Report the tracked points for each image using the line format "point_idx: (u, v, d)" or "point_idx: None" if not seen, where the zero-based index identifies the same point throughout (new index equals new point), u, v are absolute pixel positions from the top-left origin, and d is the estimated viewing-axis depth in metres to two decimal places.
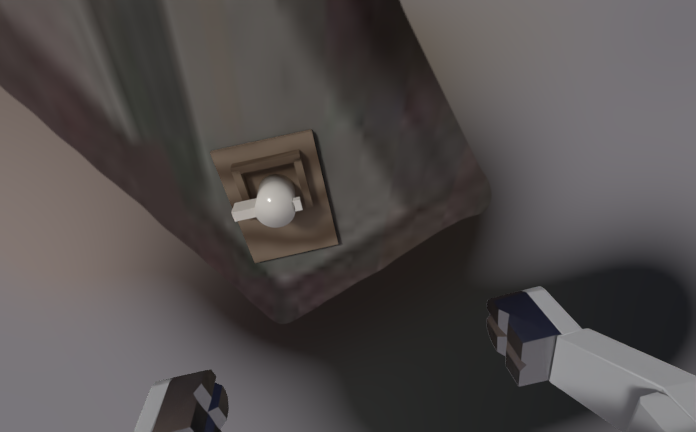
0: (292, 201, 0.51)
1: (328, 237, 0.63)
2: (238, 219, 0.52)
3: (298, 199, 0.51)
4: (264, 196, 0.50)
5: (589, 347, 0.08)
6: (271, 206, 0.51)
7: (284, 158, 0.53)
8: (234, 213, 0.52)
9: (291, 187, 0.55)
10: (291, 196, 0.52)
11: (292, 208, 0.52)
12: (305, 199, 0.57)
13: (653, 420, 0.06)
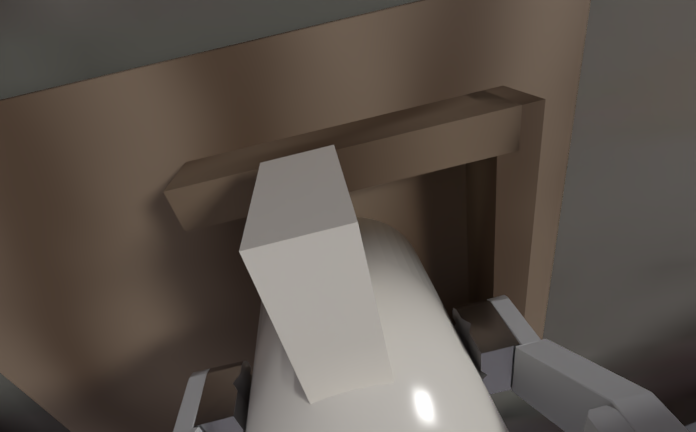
0: None
1: None
2: (272, 282, 0.05)
3: None
4: None
5: (545, 358, 0.08)
6: None
7: None
8: (350, 246, 0.05)
9: None
10: None
11: None
12: None
13: None
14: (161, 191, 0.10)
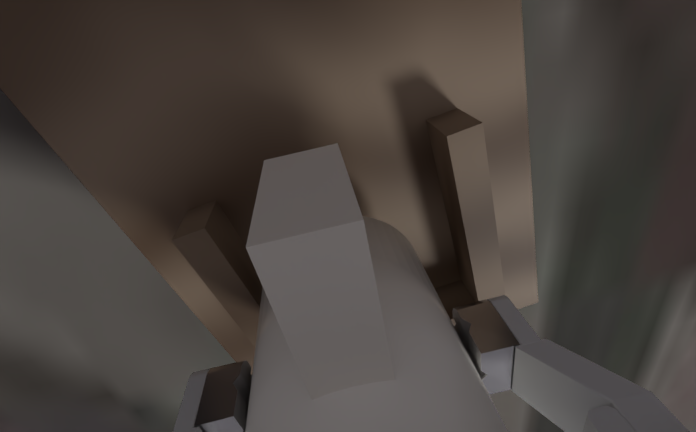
0: None
1: None
2: (278, 278, 0.05)
3: None
4: None
5: (545, 358, 0.08)
6: None
7: None
8: (355, 244, 0.05)
9: None
10: None
11: None
12: (223, 266, 0.12)
13: None
14: (433, 86, 0.12)
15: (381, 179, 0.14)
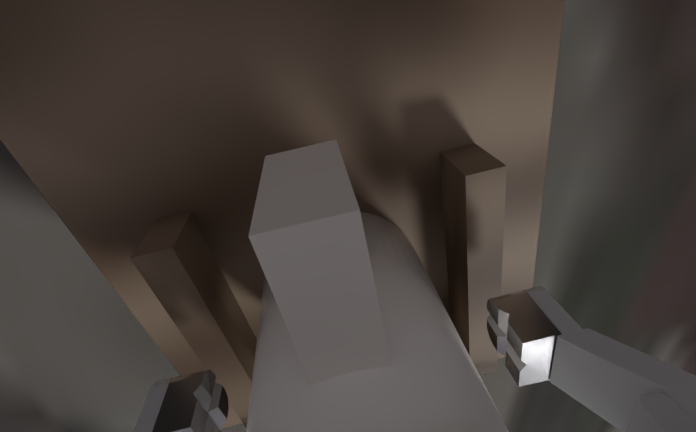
0: None
1: None
2: (279, 265, 0.05)
3: None
4: None
5: (589, 347, 0.08)
6: None
7: None
8: (352, 233, 0.05)
9: None
10: None
11: None
12: (190, 293, 0.10)
13: (653, 420, 0.06)
14: (453, 116, 0.11)
15: (381, 210, 0.12)
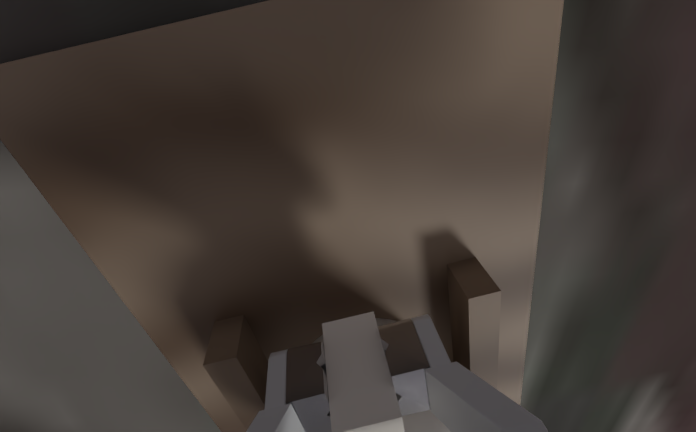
0: None
1: (61, 136, 0.10)
2: None
3: None
4: None
5: (450, 382, 0.08)
6: None
7: None
8: (396, 427, 0.08)
9: None
10: None
11: None
12: (246, 386, 0.13)
13: None
14: (457, 239, 0.13)
15: (398, 306, 0.15)
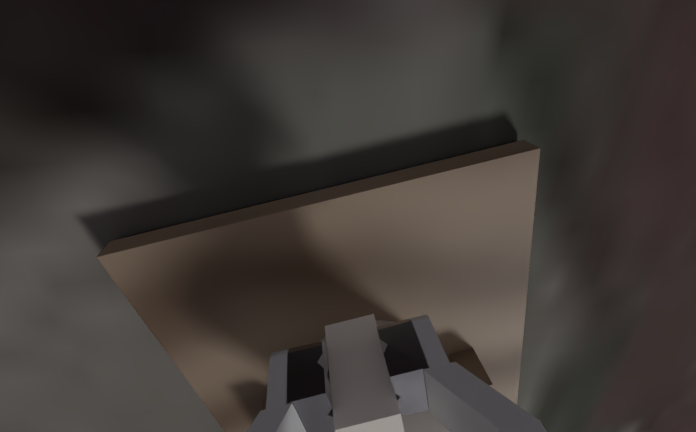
0: None
1: (165, 288, 0.13)
2: None
3: None
4: None
5: (449, 383, 0.08)
6: None
7: None
8: (395, 423, 0.08)
9: None
10: None
11: None
12: None
13: None
14: (458, 337, 0.17)
15: None
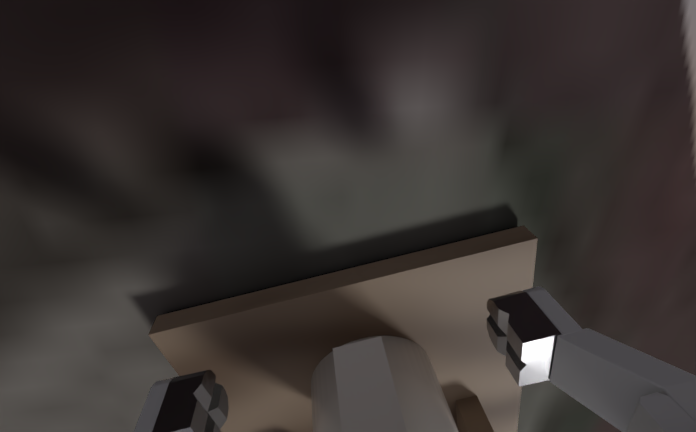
0: None
1: (205, 356, 0.15)
2: None
3: None
4: None
5: (589, 347, 0.08)
6: None
7: None
8: None
9: None
10: None
11: None
12: None
13: (653, 420, 0.06)
14: (463, 387, 0.18)
15: None
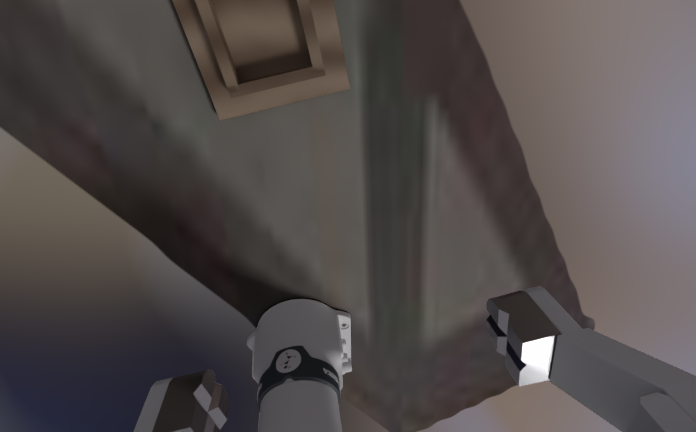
0: None
1: None
2: None
3: None
4: None
5: (589, 347, 0.08)
6: None
7: (251, 90, 0.38)
8: None
9: None
10: None
11: None
12: (210, 15, 0.34)
13: (653, 420, 0.06)
14: None
15: (274, 0, 0.36)
